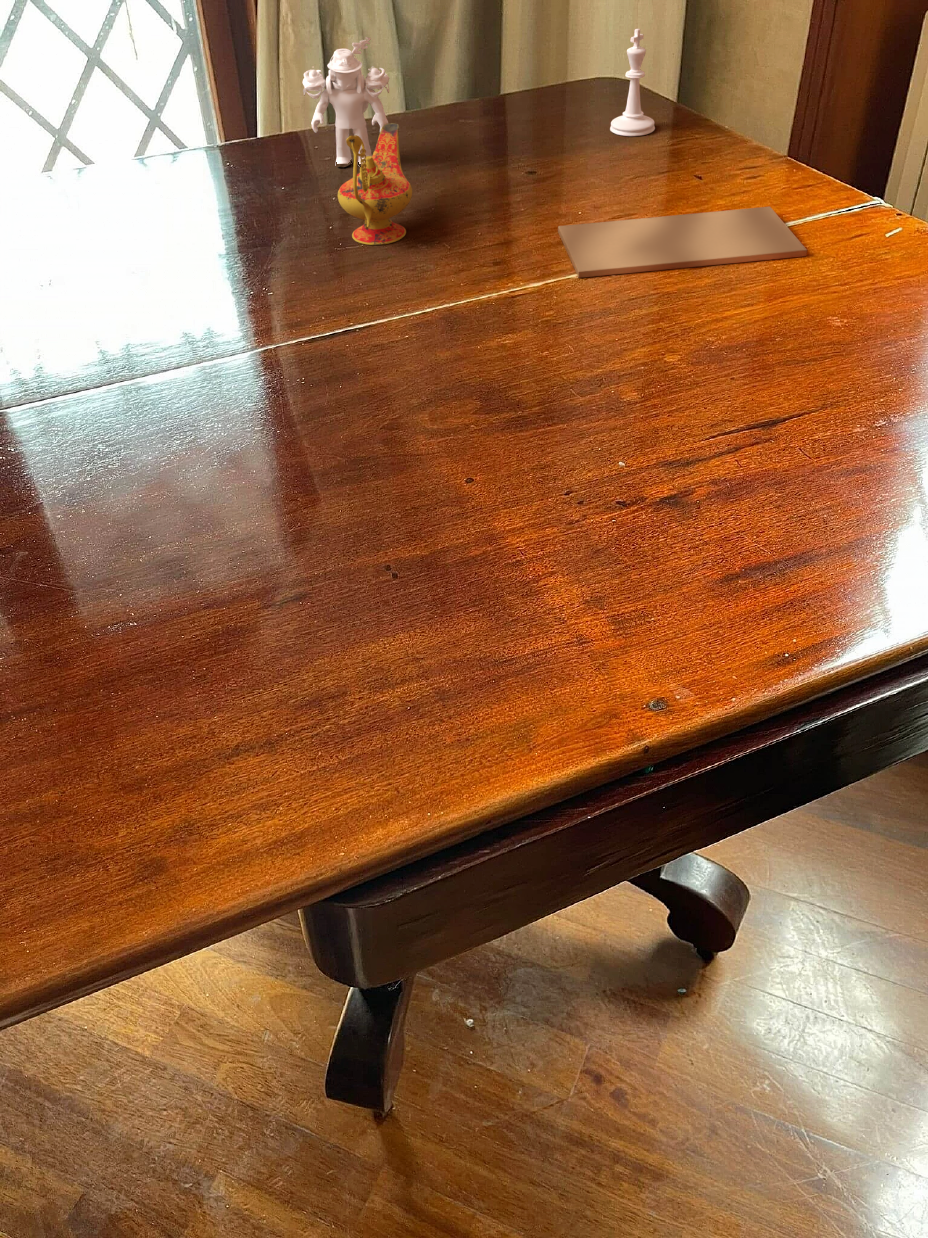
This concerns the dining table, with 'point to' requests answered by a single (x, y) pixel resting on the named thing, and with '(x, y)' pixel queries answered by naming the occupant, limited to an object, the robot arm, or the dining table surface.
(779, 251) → the cork board
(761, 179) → the dining table surface
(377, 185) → the magic lamp
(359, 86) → the flower shoulder figurine
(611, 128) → the chess piece
